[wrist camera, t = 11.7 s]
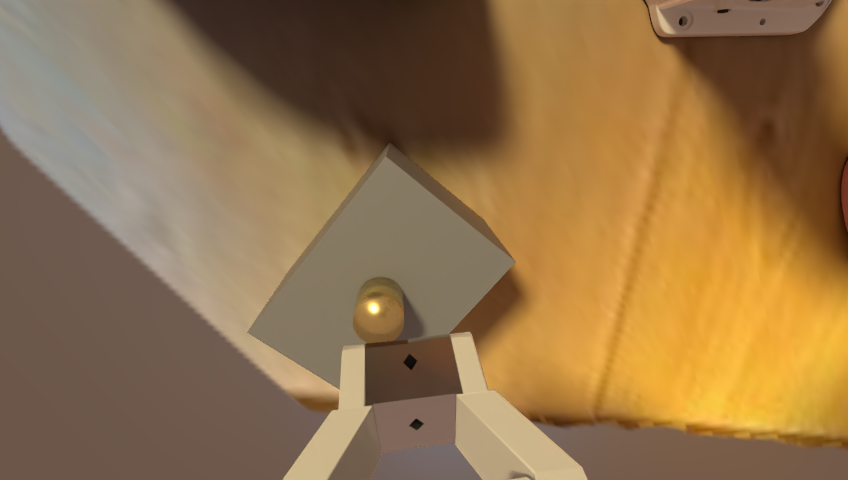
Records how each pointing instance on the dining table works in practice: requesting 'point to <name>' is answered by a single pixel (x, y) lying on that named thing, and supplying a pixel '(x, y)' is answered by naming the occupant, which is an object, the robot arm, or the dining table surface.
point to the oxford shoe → (845, 193)
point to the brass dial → (379, 310)
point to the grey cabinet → (383, 266)
